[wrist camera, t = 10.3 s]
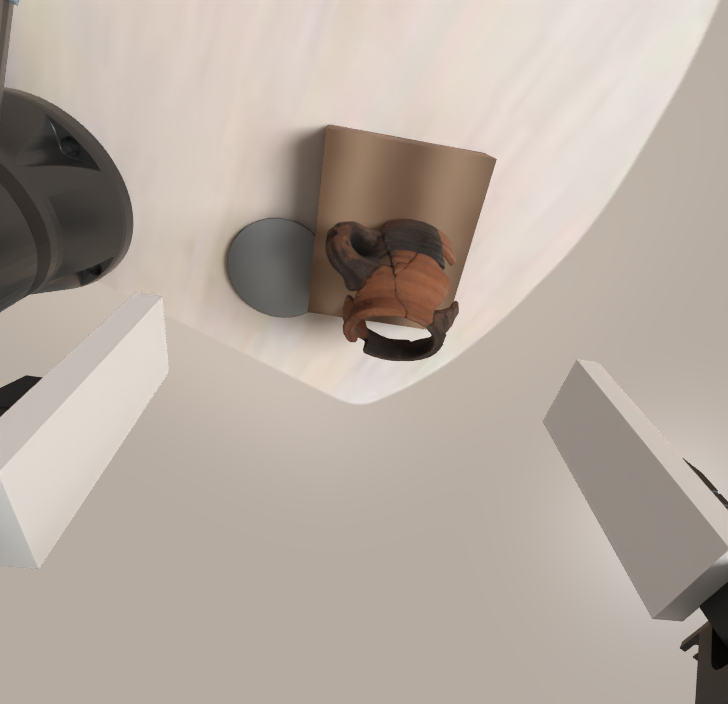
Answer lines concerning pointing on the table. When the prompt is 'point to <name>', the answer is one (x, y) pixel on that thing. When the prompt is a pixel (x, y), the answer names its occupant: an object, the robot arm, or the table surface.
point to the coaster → (273, 266)
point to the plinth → (394, 201)
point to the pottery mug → (394, 283)
